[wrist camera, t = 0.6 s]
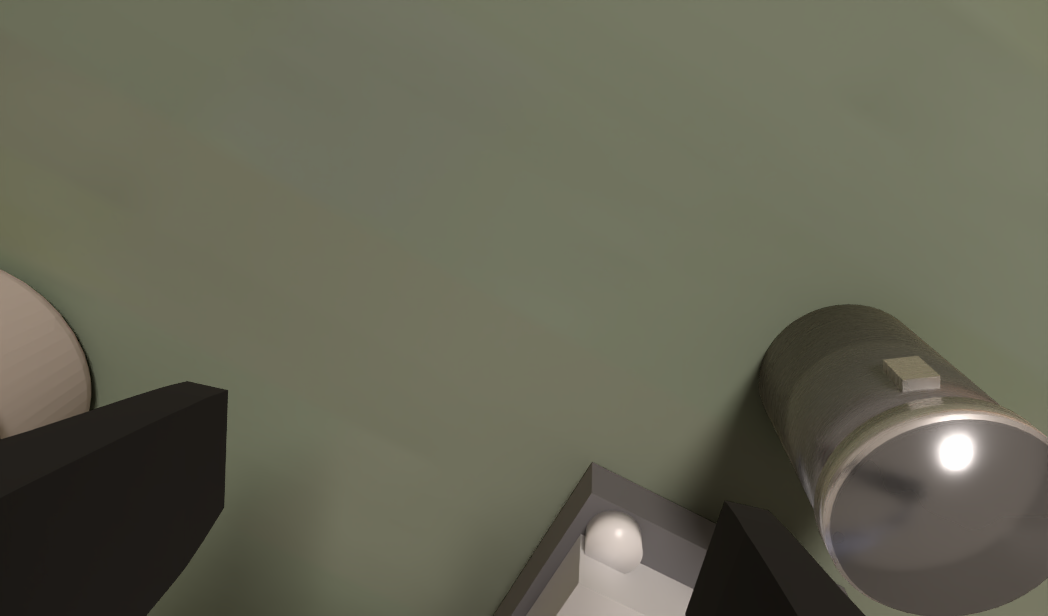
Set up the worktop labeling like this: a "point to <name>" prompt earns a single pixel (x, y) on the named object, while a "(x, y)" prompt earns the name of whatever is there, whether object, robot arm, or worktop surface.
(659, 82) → the worktop surface
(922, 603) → the lens
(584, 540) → the camera body
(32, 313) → the coffee cup
